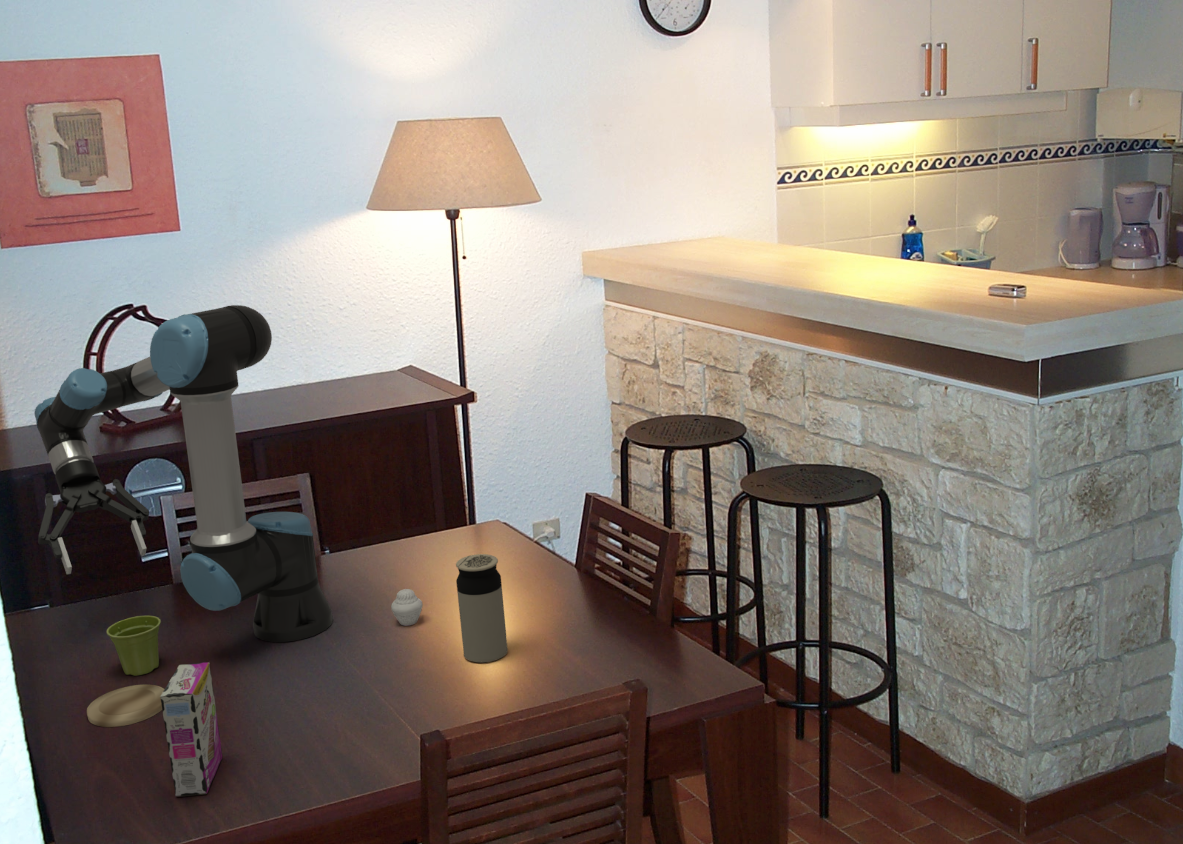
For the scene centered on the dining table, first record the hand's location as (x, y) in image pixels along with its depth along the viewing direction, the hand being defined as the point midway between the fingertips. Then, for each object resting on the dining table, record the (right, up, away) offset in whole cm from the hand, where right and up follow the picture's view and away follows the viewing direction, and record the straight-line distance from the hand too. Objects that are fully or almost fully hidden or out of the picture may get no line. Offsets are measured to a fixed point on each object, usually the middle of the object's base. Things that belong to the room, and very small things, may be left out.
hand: (107, 561), depth 225 cm
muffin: (+56, -13, +8) cm, 58 cm away
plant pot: (+8, -20, -4) cm, 22 cm away
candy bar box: (+32, -28, -44) cm, 61 cm away
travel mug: (+72, -16, -8) cm, 75 cm away
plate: (+12, -23, -20) cm, 32 cm away
